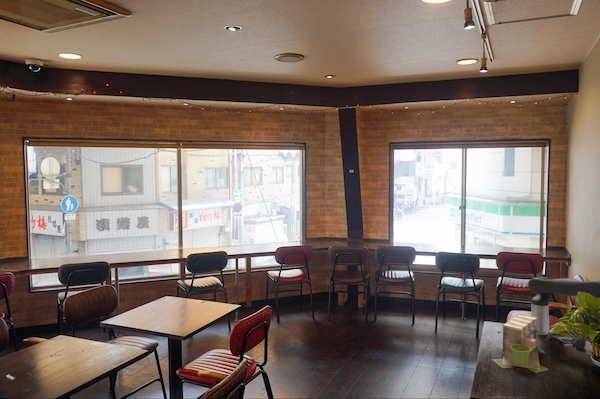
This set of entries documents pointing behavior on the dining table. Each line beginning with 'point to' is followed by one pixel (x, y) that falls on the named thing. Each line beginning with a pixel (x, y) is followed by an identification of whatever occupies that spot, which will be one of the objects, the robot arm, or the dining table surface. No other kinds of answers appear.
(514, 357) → the plant pot
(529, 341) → the key terracotta
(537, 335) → the key charcoal
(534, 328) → the console
